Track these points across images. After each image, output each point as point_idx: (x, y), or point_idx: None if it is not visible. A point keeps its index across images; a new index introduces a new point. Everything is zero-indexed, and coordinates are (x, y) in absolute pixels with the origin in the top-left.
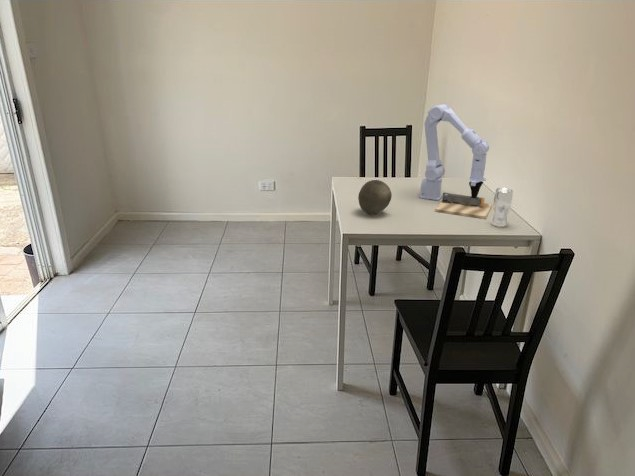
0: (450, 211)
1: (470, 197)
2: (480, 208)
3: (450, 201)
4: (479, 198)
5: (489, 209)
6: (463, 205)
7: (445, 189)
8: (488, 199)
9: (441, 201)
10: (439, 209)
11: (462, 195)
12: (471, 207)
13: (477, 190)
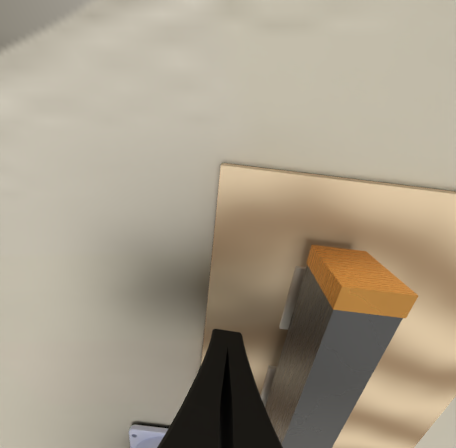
0: (444, 408)
1: (343, 400)
2: None
3: None
4: (369, 335)
5: (380, 184)
6: None
7: (8, 412)
8: (31, 191)
9: None
10: (411, 445)
11: (292, 444)
12: None
13: (272, 437)
